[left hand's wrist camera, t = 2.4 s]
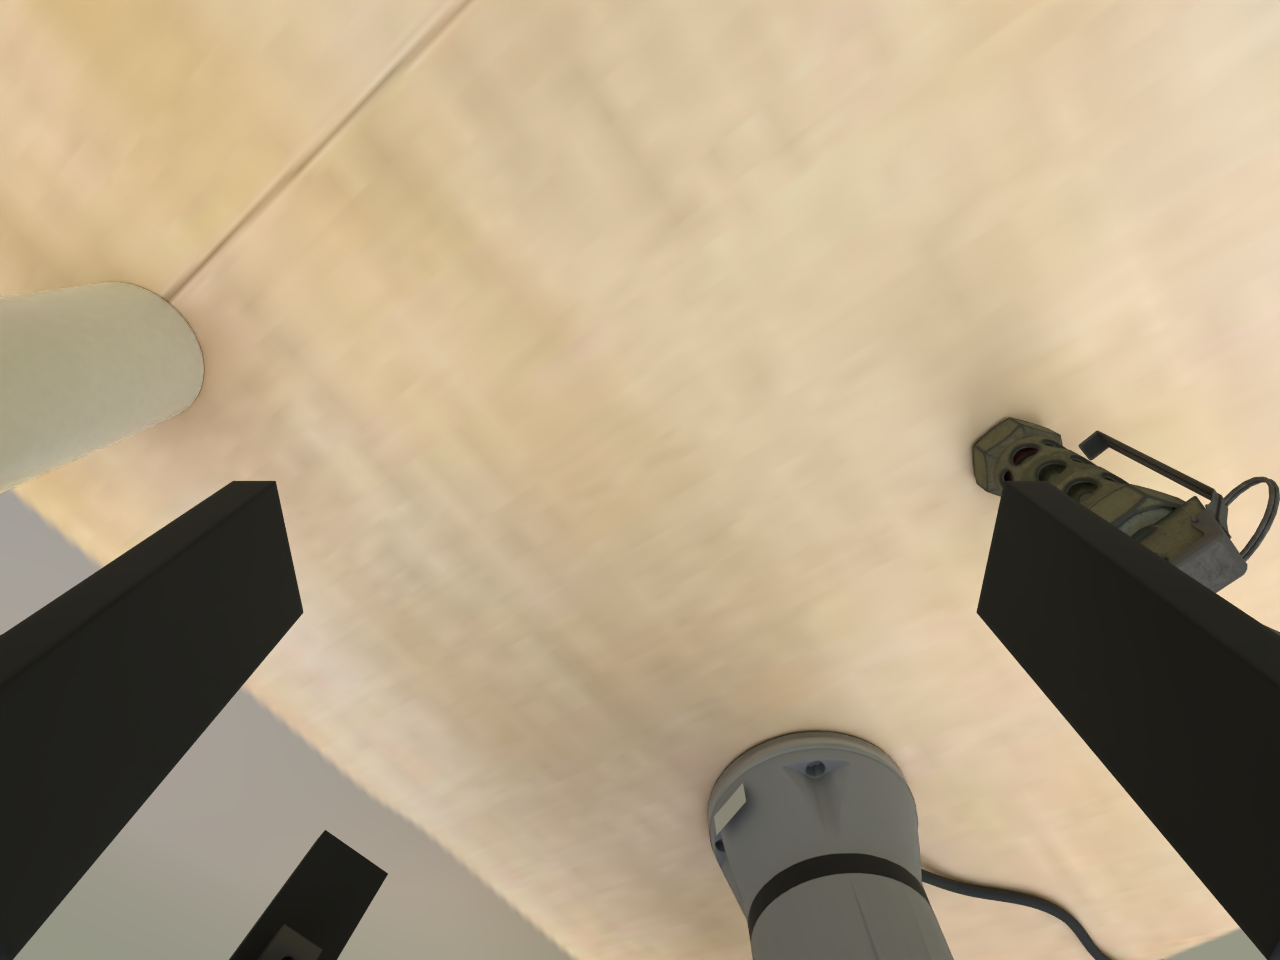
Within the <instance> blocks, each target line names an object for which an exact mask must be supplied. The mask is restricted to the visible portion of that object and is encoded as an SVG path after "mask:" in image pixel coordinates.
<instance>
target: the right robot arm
mask: <svg viewBox="0 0 1280 960" xmlns="http://www.w3.org/2000/svg"><path fill="white" fill-rule="evenodd" d="M708 825H709V834H710V841H711V845H712V849H713V852H714V854H715V857H716V859H717V861H718V863H719V865H720V867H721V870H722V872H723V874H724V876H725V878H726V880H727V882H728V884H729V885H730V887H731V889H732V891H733V893H734V895H735V897H736V899H737V901H738V903H739V905H740V907H741V909H742V911H743V913H744V915H745V917H746V919H747V922H748V928H749V935H750V941H751V948H752V956H753V960H954V959H953V957H952V954H951V952H950V950H949V947H948V945H947V942H946V940H945V938H944V935H943V933H942V931H941V928H940V926H939V923H938V921H937V919H936V916H935V914H934V912H933V910H932V907H931V905H930V902H929V900H928V898H927V895H926V893H925V890H924V888H923V885H922V882H925V883H928V884H931V885H934V886H936V887H939V888H942V889H945V890H948V891H952V892H955V893H959V894H963V895H967V896H972V897H977V898H983V899H989V900H996V901H1002V902H1009V903H1014V904H1020V905H1024V906H1028V907H1032V908H1035V909H1039V910H1041V911H1044V912H1047V913H1049V914H1051V915H1053V916H1055V917H1057V918H1059V919H1060V920H1062V921H1063V922H1065V923H1066V924H1067V925H1068V926H1069V927H1070V928H1071V929H1072V930H1073V932H1074V933H1075V934H1076V935H1077V937H1078V938H1079V940H1080V941H1081V942H1082V944H1083V945H1084V947H1085V948H1086V949H1087V951H1088V952H1089V953H1090V954H1091V955H1092V956H1093V958H1094V959H1095V960H1110V959H1109V958H1108V957H1106V956H1105V955H1104V954H1103V953H1102V952H1101V951H1100V950H1099V949H1098V948H1097V946H1096V945H1095V944H1094V942H1093V941H1092V940H1091V938H1090V937H1089V935H1088V934H1087V932H1086V931H1085V930H1084V928H1083V927H1082V926H1081V925H1080V923H1079V922H1078V921H1077V920H1076V919H1075V918H1074V917H1072V916H1071V915H1070V914H1069V913H1067V912H1066V911H1064V910H1063V909H1061V908H1060V907H1058V906H1056V905H1054V904H1052V903H1050V902H1048V901H1045V900H1043V899H1040V898H1037V897H1034V896H1030V895H1026V894H1022V893H1017V892H1011V891H1005V890H999V889H992V888H986V887H980V886H974V885H970V884H965V883H961V882H957V881H954V880H951V879H947V878H944V877H942V876H939V875H936V874H933V873H931V872H928V871H925V870H922V869H921V860H920V848H919V838H918V817H917V811H916V805H915V801H914V798H913V796H912V793H911V791H910V789H909V787H908V785H907V782H906V780H905V778H904V776H903V774H902V772H901V771H900V769H899V767H898V766H897V765H896V764H895V762H894V761H893V760H892V759H891V758H890V757H889V756H888V755H887V754H885V753H884V752H883V751H882V750H880V749H879V748H877V747H875V746H874V745H872V744H870V743H868V742H866V741H863V740H861V739H858V738H856V737H852V736H849V735H844V734H840V733H832V732H803V733H795V734H790V735H785V736H782V737H778V738H775V739H772V740H769V741H767V742H764V743H762V744H760V745H758V746H756V747H754V748H752V749H750V750H749V751H747V752H746V753H744V754H743V755H741V756H740V757H739V758H738V759H736V760H735V761H734V762H733V763H732V764H731V765H730V766H729V767H728V768H727V769H726V770H725V771H724V772H723V774H722V775H721V776H720V778H719V779H718V781H717V783H716V784H715V786H714V788H713V791H712V793H711V796H710V800H709V804H708ZM387 875H388V873H386V872H385V871H383V870H382V869H380V868H379V867H378V866H376V865H375V864H373V863H372V862H370V861H369V860H368V859H366V858H365V857H363V856H362V855H360V854H359V853H358V852H356V851H355V850H353V849H352V848H350V847H349V846H348V845H346V844H345V843H343V842H342V841H340V840H339V839H337V838H336V837H335V836H333V835H332V834H330V833H329V832H327V831H326V830H325V831H324V832H323V833H322V835H321V836H320V837H319V838H318V839H317V841H316V842H315V843H314V845H313V846H312V847H311V849H310V850H309V851H308V853H307V854H306V856H305V857H304V858H303V860H302V861H301V862H300V864H299V865H298V867H297V868H296V869H295V871H294V872H293V873H292V875H291V876H290V877H289V879H288V880H287V881H286V883H285V884H284V886H283V887H282V888H281V890H280V891H279V892H278V894H277V895H276V896H275V898H274V899H273V900H272V902H271V903H270V905H269V906H268V907H267V909H266V910H265V911H264V913H263V914H262V915H261V917H260V918H259V920H258V921H257V922H256V924H255V925H254V926H253V928H252V929H251V930H250V932H249V933H248V935H247V936H246V937H245V939H244V940H243V941H242V943H241V944H240V945H239V947H238V948H237V950H236V951H235V952H234V954H233V955H232V956H231V958H230V959H229V960H337V958H338V957H339V955H340V953H341V952H342V950H343V948H344V947H345V945H346V943H347V942H348V940H349V938H350V937H351V935H352V933H353V932H354V930H355V928H356V927H357V925H358V923H359V921H360V920H361V918H362V917H363V915H364V913H365V912H366V910H367V908H368V906H369V905H370V903H371V901H372V900H373V898H374V896H375V895H376V893H377V891H378V890H379V888H380V886H381V885H382V883H383V881H384V880H385V878H386V876H387ZM1162 960H1164V959H1162Z"/></svg>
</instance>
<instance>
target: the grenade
mask: <svg viewBox="0 0 1280 960" xmlns="http://www.w3.org/2000/svg"><path fill="white" fill-rule="evenodd" d="M1109 447H1110V448H1112V449H1113V450H1115V451H1117V452H1119V453H1121V454H1123V455H1125V456H1127V457H1129V458H1131V459H1133V460H1134V461H1136V462H1138V463H1140V464H1142V465H1144V466H1146V467H1148V468H1150V469H1152V470H1154V471H1155V472H1157V473H1159V474H1161V475H1163V476H1165V477H1167V478H1169V479H1171V480H1173V481H1174V482H1176V483H1178V484H1180V485H1182V486H1184V487H1186V488H1188V489H1190V490H1192V491H1194V492H1195V493H1197V494H1199V495H1201V496H1203V497H1205V498H1207V499H1209V500H1211V503H1209V504H1208V505H1207V504H1206V505H1205V507H1206V509H1205V507H1204V506H1203V505H1202V503H1201V502H1200V501H1199V499H1198V498H1197V496H1194V497H1192V498H1191V499H1189V500H1188V501H1186V502H1185V501H1183V500H1181V499H1179V498H1177V497H1174V496H1171V495H1168V494H1165V493H1162V492H1159V491H1155V490H1152V489H1149V488H1145V487H1141V486H1137V485H1132V484H1129V483H1127V482H1126V481H1124V480H1123V479H1121V478H1119V477H1118V476H1116V475H1114V474H1112V473H1111V472H1109V471H1107V470H1105V469H1103V468H1101V467H1099V466H1096V465H1095V464H1094V463H1092V462H1090V461H1089V460H1093V459H1094V458H1095V457H1097V456H1098V455H1099V454H1101V453H1102V452H1103V451H1105V450H1106V449H1107V448H1109ZM1079 448H1080V449H1081V450H1082V451H1083V453H1084V454H1085V455H1086V456H1087V458H1088V459H1089V460H1087V459H1085V458H1084V457H1082V456H1080V455H1078V454H1076V453H1075V452H1073V451H1071V450H1068V449H1066V448H1065V447H1063V445H1062V440H1061V435H1060V434H1058V433H1056V432H1054V431H1052V430H1050V429H1048V428H1045V427H1042V426H1039V425H1036V424H1033V423H1029V422H1026V421H1022V420H1018V419H1014V418H1008V419H1006V420H1005V421H1003V422H1001V423H1000V424H998V425H997V426H995V427H994V428H993V429H991V430H990V431H989V432H988V433H986V434H985V435H984V436H983V437H982V438H981V439H980V440H979V441H978V442H977V443H976V444H975V445H974V450H973V462H974V471H975V477H976V483H977V484H978V485H979V486H980V487H981V488H983V489H984V490H985V491H986V492H989V493H992V494H995V495H998V496H1001V495H1002V490H1003V485H1004V481H1048V482H1049V483H1051V484H1052V485H1054V486H1055V487H1057V488H1058V489H1060V490H1061V491H1063V492H1064V493H1066V494H1067V495H1069V496H1070V497H1072V498H1073V499H1075V500H1076V501H1078V502H1079V503H1081V504H1082V505H1084V506H1085V507H1087V508H1088V509H1090V510H1091V511H1093V512H1094V513H1096V514H1097V515H1099V516H1100V517H1102V518H1103V519H1105V520H1106V521H1108V522H1109V523H1111V524H1112V525H1114V526H1115V527H1117V528H1118V529H1120V530H1121V531H1123V532H1124V533H1126V534H1127V535H1129V536H1130V537H1132V538H1133V539H1135V540H1136V541H1138V542H1139V543H1141V544H1142V545H1144V546H1145V547H1147V548H1148V549H1150V550H1151V551H1153V552H1154V553H1156V554H1157V555H1159V556H1160V557H1162V558H1163V559H1165V560H1166V561H1168V562H1169V563H1171V564H1172V565H1174V566H1175V567H1177V568H1178V569H1180V570H1181V571H1183V572H1184V573H1186V574H1187V575H1189V576H1190V577H1192V578H1193V579H1195V580H1196V581H1198V582H1199V583H1201V584H1202V585H1204V586H1205V587H1207V588H1208V589H1210V590H1211V591H1213V592H1214V593H1217V592H1218V591H1220V590H1221V589H1223V588H1224V587H1226V586H1227V585H1229V584H1230V583H1232V582H1233V581H1235V580H1236V579H1238V578H1239V577H1241V576H1243V575H1244V574H1245V572H1246V570H1247V563H1246V561H1247V560H1248V559H1249V558H1250V557H1251V555H1252V554H1253V553H1254V552H1255V550H1256V549H1257V548H1258V547H1259V545H1260V544H1261V542H1262V541H1263V539H1264V537H1265V536H1266V534H1267V533H1268V531H1269V529H1270V527H1271V525H1272V523H1273V520H1274V518H1275V516H1276V514H1277V510H1278V505H1279V501H1280V494H1279V487H1278V486H1277V484H1276V483H1275V482H1274V481H1273V480H1271V479H1268V478H1266V477H1254V478H1251V479H1249V480H1247V481H1244V482H1243V483H1241V484H1240V485H1239V486H1237V487H1236V488H1234V489H1233V490H1232V491H1231V492H1230V493H1229V494H1228V495H1227V496H1226V497H1224V498H1223V497H1222V495H1220V494H1218V493H1217V492H1216V491H1215V490H1214V489H1213V488H1211V487H1209V486H1207V485H1205V484H1203V483H1201V482H1199V481H1197V480H1195V479H1193V478H1191V477H1189V476H1187V475H1185V474H1183V473H1181V472H1179V471H1177V470H1175V469H1173V468H1171V467H1169V466H1167V465H1165V464H1163V463H1161V462H1159V461H1157V460H1155V459H1153V458H1151V457H1149V456H1147V455H1145V454H1143V453H1141V452H1139V451H1137V450H1135V449H1133V448H1131V447H1129V446H1127V445H1125V444H1123V443H1121V442H1119V441H1117V440H1115V439H1113V438H1111V437H1109V436H1107V435H1106V434H1104V433H1102V432H1100V431H1096V432H1095V433H1093V434H1092V435H1091V436H1089V437H1088V438H1087V439H1086V440H1084V441H1083V442H1082V443H1081V444H1079ZM1261 482H1266V483H1267V485H1268V486H1269V500H1268V505H1267V508H1266V511H1265V514H1264V517H1263V519H1262V521H1261V523H1260V524H1259V526H1258V528H1257V530H1256V532H1255V534H1254V535H1253V537H1252V538H1251V539H1250V541H1249V542H1248V544H1247V545H1246V546H1245V548H1244V549H1243V550H1242V551H1241V552H1240V553H1239V552H1238V550H1237V549H1236V547H1235V546H1234V544H1233V543H1232V541H1231V540H1230V538H1231V536H1230V535H1229V532H1228V527H1227V514H1228V508H1227V507H1228V506H1229V504H1230V503H1232V502H1233V501H1234V500H1235V499H1236V498H1237V497H1238V496H1239V495H1240V494H1241V493H1243V492H1244V491H1246V490H1247V489H1249V488H1250V487H1251V486H1254V485H1256V484H1259V483H1261ZM1229 498H1230V499H1229ZM1228 499H1229V500H1228ZM1227 500H1228V501H1227ZM1226 501H1227V502H1226ZM1271 510H1272V511H1271ZM1270 513H1271V514H1270ZM1262 530H1263V531H1262ZM1259 535H1260V536H1259Z"/></svg>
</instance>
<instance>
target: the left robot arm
mask: <svg viewBox="0 0 1280 960" xmlns="http://www.w3.org/2000/svg"><path fill="white" fill-rule="evenodd" d="M302 614H303V608H302V604H301V599H300V594H299V589H298V585H297V580H296V575H295V570H294V566H293V561H292V556H291V552H290V547H289V542H288V537H287V533H286V528H285V523H284V518H283V514H282V509H281V504H280V500H279V495H278V490H277V485H276V481H232V482H231V483H229V484H228V485H226V486H225V487H223V488H222V489H220V490H219V491H217V492H216V493H214V494H213V495H211V496H210V497H208V498H207V499H205V500H204V501H202V502H201V503H199V504H198V505H196V506H195V507H193V508H192V509H190V510H189V511H187V512H186V513H184V514H183V515H181V516H180V517H178V518H177V519H175V520H174V521H172V522H171V523H169V524H168V525H166V526H165V527H163V528H162V529H160V530H159V531H157V532H156V533H154V534H153V535H151V536H150V537H148V538H147V539H145V540H144V541H142V542H141V543H139V544H138V545H136V546H135V547H133V548H132V549H130V550H129V551H127V552H126V553H124V554H123V555H121V556H120V557H118V558H117V559H115V560H114V561H112V562H111V563H109V564H108V565H106V566H105V567H103V568H102V569H100V570H99V571H97V572H96V573H94V574H93V575H91V576H90V577H88V578H87V579H85V580H84V581H82V582H81V583H79V584H78V585H76V586H75V587H73V588H72V589H70V590H69V591H67V592H66V593H64V594H63V595H61V596H60V597H58V598H57V599H55V600H54V601H52V602H51V603H49V604H48V605H46V606H45V607H43V608H41V609H40V610H39V611H37V612H35V613H34V614H33V615H31V616H29V617H28V618H26V619H25V620H23V621H22V622H20V623H19V624H17V625H16V626H14V627H13V628H11V629H10V630H8V631H7V632H5V633H4V634H2V635H0V960H13V959H14V958H15V956H16V955H17V954H18V953H19V952H20V950H21V949H22V948H23V947H24V946H25V944H26V943H27V942H28V941H29V940H30V938H31V937H32V936H33V935H34V934H35V933H36V931H37V930H38V929H39V928H40V926H41V925H42V924H43V923H44V922H45V921H46V919H47V918H48V917H49V916H50V915H51V913H52V912H53V911H54V910H55V909H56V907H57V906H58V905H59V904H60V903H61V901H62V900H63V899H64V898H65V897H66V895H67V894H68V893H69V892H70V891H71V890H72V888H73V887H74V886H75V885H76V884H77V882H78V881H79V880H80V879H81V878H82V876H83V875H84V874H85V873H86V872H87V870H88V869H89V868H90V867H91V866H92V864H93V863H94V862H95V861H96V860H97V858H98V857H99V856H100V855H101V854H102V852H103V851H104V850H105V849H106V848H107V846H108V845H109V844H110V843H111V842H112V841H113V839H114V838H115V837H116V836H117V835H118V833H119V832H120V831H121V830H122V829H123V827H124V826H125V825H126V824H127V823H128V821H129V820H130V819H131V818H132V817H133V815H134V814H135V813H136V812H137V811H138V809H139V808H140V807H141V806H142V805H143V803H144V802H145V801H146V800H147V799H148V797H149V796H150V795H151V794H152V793H153V792H154V790H155V789H156V788H157V787H158V786H159V784H160V783H161V782H162V781H163V780H164V778H165V777H166V776H167V775H168V774H169V772H170V771H171V770H172V769H173V768H174V766H175V765H176V764H177V763H178V762H179V760H180V759H181V758H182V757H183V756H184V754H185V753H186V752H187V751H188V750H189V748H190V747H191V746H192V745H193V744H194V742H195V741H196V740H197V739H198V738H199V737H200V735H201V734H202V733H203V732H204V731H205V729H206V728H207V727H208V726H209V725H210V723H211V722H212V721H213V720H214V719H215V717H216V716H217V715H218V714H219V713H220V712H221V710H222V709H223V708H224V707H225V706H226V704H227V703H228V702H229V701H230V699H231V698H232V697H233V696H234V695H235V694H236V692H237V691H238V690H239V689H240V688H241V686H242V685H243V684H244V683H245V682H246V680H247V679H248V678H249V677H250V676H251V674H252V673H253V672H254V671H255V670H256V668H257V667H258V666H259V665H260V664H261V663H262V661H263V660H264V659H265V658H266V657H267V655H268V654H269V653H270V652H271V651H272V649H273V648H274V647H275V646H276V645H277V643H278V642H279V641H280V640H281V639H282V637H283V636H284V635H285V634H286V633H287V631H288V630H289V629H290V628H291V627H292V625H293V624H294V623H295V622H296V621H297V620H298V618H299V617H300V616H301V615H302ZM977 614H978V615H979V616H980V617H981V618H982V620H983V621H984V622H985V623H986V624H987V625H988V627H989V628H990V629H991V630H992V631H993V633H994V634H995V635H996V636H997V637H998V639H999V640H1000V641H1001V642H1002V643H1003V645H1004V646H1005V647H1006V648H1007V649H1008V651H1009V652H1010V653H1011V654H1012V655H1013V657H1014V658H1015V659H1016V660H1017V661H1018V663H1019V664H1020V665H1021V666H1022V667H1023V668H1024V670H1025V671H1026V672H1027V673H1028V674H1029V676H1030V677H1031V678H1032V679H1033V680H1034V682H1035V683H1036V684H1037V685H1038V686H1039V688H1040V689H1041V690H1042V691H1043V692H1044V694H1045V695H1046V696H1047V697H1048V698H1049V700H1050V701H1051V702H1052V703H1053V704H1054V706H1055V707H1056V708H1057V709H1058V710H1059V712H1060V713H1061V714H1062V715H1063V716H1064V717H1065V719H1066V720H1067V721H1068V722H1069V723H1070V725H1071V726H1072V727H1073V728H1074V729H1075V731H1076V732H1077V733H1078V734H1079V735H1080V737H1081V738H1082V739H1083V740H1084V741H1085V743H1086V744H1087V745H1088V746H1089V747H1090V749H1091V750H1092V751H1093V752H1094V753H1095V755H1096V756H1097V757H1098V758H1099V759H1100V760H1101V762H1102V763H1103V764H1104V765H1105V766H1106V768H1107V769H1108V770H1109V771H1110V772H1111V774H1112V775H1113V776H1114V777H1115V778H1116V780H1117V781H1118V782H1119V783H1120V784H1121V786H1122V787H1123V788H1124V789H1125V790H1126V792H1127V793H1128V794H1129V795H1130V796H1131V798H1132V799H1133V800H1134V801H1135V802H1136V803H1137V805H1138V806H1139V807H1140V808H1141V809H1142V811H1143V812H1144V813H1145V814H1146V815H1147V817H1148V818H1149V819H1150V820H1151V821H1152V823H1153V824H1154V825H1155V826H1156V827H1157V829H1158V830H1159V831H1160V832H1161V833H1162V835H1163V836H1164V837H1165V838H1166V839H1167V841H1168V842H1169V843H1170V844H1171V845H1172V847H1173V848H1174V849H1175V850H1176V851H1177V852H1178V854H1179V855H1180V856H1181V857H1182V858H1183V860H1184V861H1185V862H1186V863H1187V864H1188V866H1189V867H1190V868H1191V869H1192V870H1193V872H1194V873H1195V874H1196V875H1197V876H1198V878H1199V879H1200V880H1201V881H1202V882H1203V884H1204V885H1205V886H1206V887H1207V888H1208V890H1209V891H1210V892H1211V893H1212V894H1213V895H1214V897H1215V898H1216V899H1217V900H1218V901H1219V903H1220V904H1221V905H1222V906H1223V907H1224V909H1225V910H1226V911H1227V912H1228V913H1229V915H1230V916H1231V917H1232V918H1233V919H1234V921H1235V922H1236V923H1237V924H1238V925H1239V927H1240V928H1241V929H1242V930H1243V931H1244V933H1245V934H1246V935H1247V936H1248V937H1249V938H1250V940H1251V941H1252V942H1253V943H1254V944H1255V946H1256V947H1257V948H1258V949H1259V950H1260V952H1261V953H1262V954H1263V955H1264V956H1265V958H1266V959H1267V960H1280V632H1278V631H1276V630H1274V629H1271V628H1269V627H1267V626H1265V625H1263V624H1261V623H1260V622H1258V621H1257V620H1255V619H1254V618H1252V617H1251V616H1249V615H1248V614H1246V613H1245V612H1243V611H1242V610H1240V609H1239V608H1237V607H1235V606H1234V605H1232V604H1231V603H1229V602H1228V601H1226V600H1225V599H1223V598H1222V597H1220V596H1219V595H1217V594H1216V593H1214V592H1213V591H1211V590H1210V589H1208V588H1207V587H1205V586H1204V585H1202V584H1201V583H1199V582H1198V581H1196V580H1195V579H1193V578H1192V577H1190V576H1189V575H1187V574H1186V573H1184V572H1183V571H1181V570H1180V569H1178V568H1177V567H1175V566H1174V565H1172V564H1171V563H1169V562H1168V561H1166V560H1165V559H1163V558H1162V557H1160V556H1159V555H1157V554H1156V553H1154V552H1153V551H1151V550H1150V549H1148V548H1147V547H1145V546H1144V545H1142V544H1141V543H1139V542H1138V541H1136V540H1135V539H1133V538H1132V537H1130V536H1129V535H1127V534H1126V533H1124V532H1123V531H1121V530H1120V529H1118V528H1117V527H1115V526H1114V525H1112V524H1111V523H1109V522H1108V521H1106V520H1105V519H1103V518H1102V517H1100V516H1099V515H1097V514H1096V513H1094V512H1093V511H1091V510H1090V509H1088V508H1087V507H1085V506H1084V505H1082V504H1081V503H1079V502H1078V501H1076V500H1075V499H1073V498H1072V497H1070V496H1069V495H1067V494H1066V493H1064V492H1063V491H1061V490H1060V489H1058V488H1057V487H1055V486H1054V485H1052V484H1051V483H1049V482H1048V481H1004V485H1003V490H1002V495H1001V500H1000V504H999V509H998V514H997V518H996V523H995V528H994V533H993V537H992V542H991V547H990V552H989V556H988V561H987V566H986V570H985V575H984V580H983V585H982V589H981V594H980V599H979V604H978V608H977Z"/></svg>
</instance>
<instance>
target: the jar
mask: <svg viewBox="0 0 1280 960" xmlns="http://www.w3.org/2000/svg"><path fill="white" fill-rule="evenodd" d="M203 376H204V362H203V357H202V352H201V349H200V346H199V343H198V341H197V338H196V336H195V334H194V333H193V331H192V329H191V327H190V326H189V325H188V323H187V322H186V320H185V319H184V318H183V317H182V316H181V315H180V313H179V312H178V311H177V310H176V309H175V308H173V307H172V306H171V305H170V304H169V303H168V302H166V301H165V300H164V299H162V298H161V297H159V296H157V295H156V294H154V293H152V292H150V291H148V290H146V289H144V288H141V287H138V286H135V285H132V284H127V283H122V282H103V283H95V284H87V285H80V286H73V287H65V288H58V289H50V290H43V291H35V292H28V293H20V294H13V295H6V296H0V494H1V493H3V492H6V491H8V490H10V489H12V488H15V487H17V486H19V485H21V484H24V483H26V482H28V481H30V480H33V479H35V478H37V477H39V476H42V475H44V474H46V473H48V472H51V471H53V470H55V469H58V468H60V467H62V466H64V465H67V464H69V463H71V462H73V461H76V460H78V459H80V458H82V457H85V456H87V455H89V454H91V453H94V452H96V451H98V450H100V449H103V448H105V447H107V446H109V445H112V444H114V443H116V442H118V441H121V440H123V439H125V438H127V437H130V436H132V435H134V434H136V433H139V432H141V431H143V430H146V429H148V428H150V427H152V426H155V425H157V424H159V423H161V422H164V421H166V420H168V419H170V418H173V417H175V416H177V415H179V414H180V413H182V412H183V411H185V410H186V409H187V408H189V406H190V405H191V404H192V403H193V402H194V401H195V399H196V397H197V396H198V394H199V391H200V389H201V386H202V382H203Z"/></svg>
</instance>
